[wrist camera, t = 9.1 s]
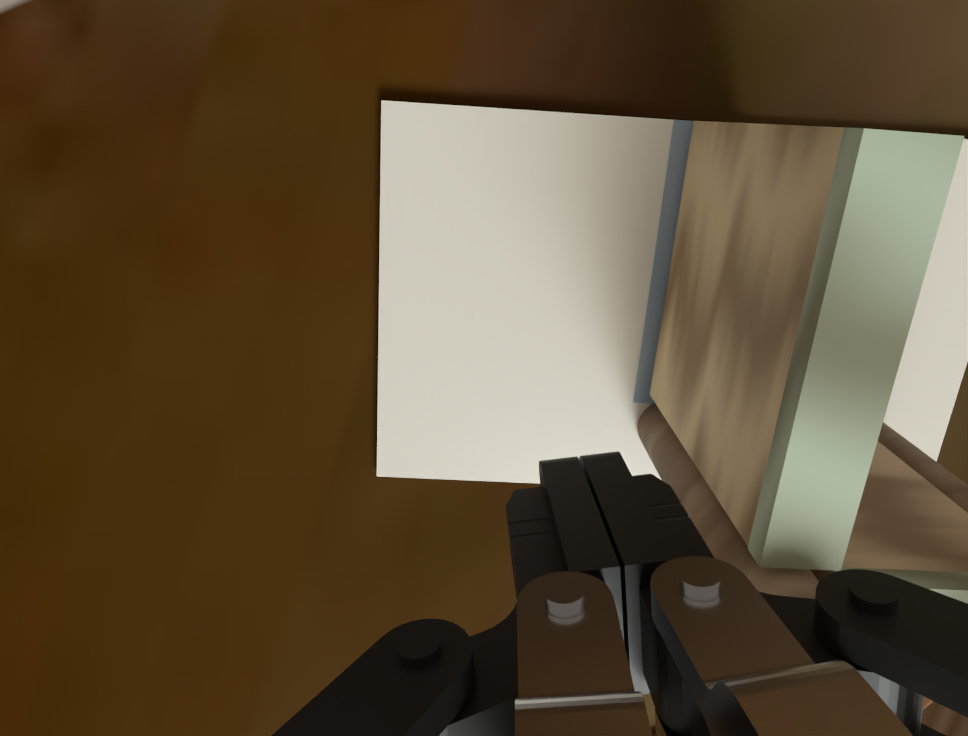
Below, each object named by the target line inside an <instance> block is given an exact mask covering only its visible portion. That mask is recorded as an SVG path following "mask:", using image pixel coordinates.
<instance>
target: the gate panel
mask: <svg viewBox="0 0 968 736" xmlns="http://www.w3.org/2000/svg"><path fill="white" fill-rule="evenodd" d="M963 140H964V136H958V135H945V134H932V133H919V132H906V131H892V130H879V129H866V128H845V127H822V126H799V125H777V124H755V123H733V122H711V121H694V122H693V128H692V134H691V140H690V147H689V153H688V159H687V165H686V171H685V178H684V184H683V190H682V196H681V202H680V209H679V215H678V221H677V227H676V233H675V240H674V246H673V252H672V258H671V264H670V271H669V277H668V283H667V289H666V295H665V302H664V308H663V314H662V320H661V326H660V333H659V339H658V345H657V351H656V357H655V364H654V370H653V376H652V382H651V389H650V396H651V397H652V399H653V400H654V402H655V404H656V405H657V407H658V408H659V410H660V411H661V413H662V414H663V416H664V417H665V419H666V421H667V422H668V424H669V425H670V427H671V428H672V430H673V431H674V433H675V434H676V436H677V438H678V439H679V441H680V442H681V444H682V445H683V447H684V448H685V450H686V451H687V453H688V455H689V456H690V458H691V459H692V461H693V462H694V464H695V465H696V467H697V469H698V470H699V472H700V473H701V475H702V476H703V478H704V479H705V481H706V482H707V484H708V486H709V487H710V489H711V490H712V492H713V493H714V495H715V496H716V498H717V499H718V501H719V503H720V504H721V506H722V507H723V509H724V510H725V512H726V513H727V515H728V516H729V518H730V520H731V521H732V523H733V524H734V526H735V527H736V529H737V530H738V532H739V534H740V535H741V537H742V538H743V540H744V541H745V543H746V544H747V546H748V550H749V552H750V553H751V555H752V556H753V558H754V560H755V561H756V563H757V564H758V566H759V567H768V568H789V569H811V570H833V571H841V568H842V564H843V561H844V557H845V553H846V550H847V546H848V543H849V539H850V536H851V532H852V529H853V525H854V522H855V518H856V515H857V511H858V508H859V504H860V501H861V497H862V494H863V490H864V487H865V483H866V480H867V476H868V473H869V469H870V466H871V462H872V459H873V455H874V452H875V448H876V445H877V441H878V438H879V434H880V431H881V427H882V424H883V420H884V417H885V413H886V410H887V406H888V403H889V399H890V396H891V392H892V389H893V385H894V382H895V378H896V375H897V371H898V368H899V364H900V361H901V357H902V354H903V350H904V347H905V343H906V340H907V336H908V333H909V329H910V326H911V322H912V319H913V315H914V312H915V308H916V305H917V301H918V298H919V294H920V291H921V287H922V284H923V280H924V277H925V273H926V270H927V266H928V263H929V259H930V256H931V252H932V249H933V245H934V241H935V238H936V234H937V231H938V227H939V224H940V220H941V217H942V213H943V210H944V206H945V203H946V199H947V196H948V192H949V189H950V185H951V182H952V178H953V175H954V171H955V168H956V164H957V161H958V157H959V154H960V150H961V147H962V143H963Z"/></svg>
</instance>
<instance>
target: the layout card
mask: <svg viewBox="0 0 968 736" xmlns="http://www.w3.org/2000/svg"><path fill="white" fill-rule="evenodd" d="M693 122H694V121H686V120H671V119H656V118H641V117H625V116H610V115H595V114H580V113H565V112H550V111H535V110H520V109H505V108H490V107H475V106H460V105H445V104H429V103H414V102H399V101H384V100H381V160H380V242H379V324H378V405H377V476H380V477H403V478H426V479H449V480H472V481H495V482H518V483H540V476H539V461H542V460H551V459H559V458H567V457H576V456H577V457H578V458H579V457H580V456H583V455H592V454H600V453H608V452H617V451H619V452H620V454H621V456H622V457H623V459H624V461H625V463H626V465H627V467H628V469H629V471H630V473H631V475H632V476H636V475H644V474H653V475H654V476H656V477H657V478H659V479H660V480H661V478H660V476H659V474H658V472H657V470H656V468H655V466H654V465H653V463H652V461H651V459H650V457H649V455H648V453H647V451H646V449H645V448H644V446H643V444H642V442H641V440H640V438H639V435H638V430H637V427H638V421H639V419H640V417H641V415H642V413H643V412H644V411H645V410H646V409H647V408H648V407H649V406H650V405H652V404H654V403H655V402H654V400H653V399H652V397H651V396H650V389H651V382H652V376H653V370H654V364H655V357H656V351H657V345H658V339H659V333H660V326H661V320H662V314H663V308H664V302H665V295H666V289H667V283H668V277H669V271H670V264H671V258H672V252H673V246H674V240H675V233H676V227H677V221H678V215H679V209H680V202H681V196H682V190H683V184H684V178H685V171H686V165H687V159H688V153H689V147H690V140H691V134H692V128H693ZM967 362H968V139H964V140H963V143H962V147H961V150H960V154H959V157H958V161H957V164H956V168H955V171H954V175H953V178H952V182H951V185H950V189H949V192H948V196H947V199H946V203H945V206H944V210H943V213H942V217H941V220H940V224H939V227H938V231H937V234H936V238H935V241H934V245H933V249H932V252H931V256H930V259H929V263H928V266H927V270H926V273H925V277H924V280H923V284H922V287H921V291H920V294H919V298H918V301H917V305H916V308H915V312H914V315H913V319H912V322H911V326H910V329H909V333H908V336H907V340H906V343H905V347H904V350H903V354H902V357H901V361H900V364H899V368H898V371H897V375H896V378H895V382H894V385H893V389H892V392H891V396H890V399H889V403H888V406H887V410H886V413H885V417H884V420H883V422H884V423H885V424H886V425H888V426H889V427H890V428H892V429H893V430H895V431H896V432H897V433H899V434H900V435H901V436H903V437H904V438H905V439H907V440H908V441H909V442H911V443H912V444H913V445H915V446H916V447H917V448H919V449H920V450H921V451H923V452H924V453H925V454H927V455H928V456H929V457H931V458H932V459H933V460H935V461H937V458H938V455H939V452H940V449H941V445H942V442H943V439H944V436H945V432H946V429H947V426H948V423H949V420H950V416H951V413H952V410H953V407H954V403H955V400H956V397H957V394H958V391H959V387H960V384H961V381H962V378H963V374H964V371H965V368H966V365H967Z"/></svg>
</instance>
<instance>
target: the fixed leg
mask: <svg viewBox="0 0 968 736" xmlns="http://www.w3.org/2000/svg"><path fill="white" fill-rule="evenodd" d="M637 430H638V435H639V438H640V440H641V442H642V444H643V446H644V448H645V449H646V451H647V453H648V455H649V457H650V459H651V461H652V463H653V465H654V466H655V468H656V470H657V472H658V474H659V476H660V478H661V480H662V481H664V482H665V483H667V484H668V485H670V486H671V487H672V489H673V490H674V492H675V494H676V495H677V497H678V499H679V500H680V503H681V505H683V507H684V509H685V510H686V512H687V513H688V517H689V518H691V520H692V522H693V523H694V525H695V527H696V528H697V530H698V532H699V533H700V535H701V536H702V538H703V540H704V541H705V543H706V545H707V546H708V548H709V550H710V551H711V553H712V555H713V556H714V558H715V559H718V560H722V561H724V562H727V563H729V564H731V565H733V566H735V567H736V568H738V569H739V570H740V571H742V572H743V573H744V574H745V575H746V576H747V578H748V579H749V580H750V582H751V583H752V584H753V585H754V587H755V588H756V589H757V590H758V591H759V592H763V593H767V594H772V595H779V596H789V597H800V598H810V599H815V594H816V587H817V584H818V583H819V581H820V580H821V579H822V578H824V577H825V576H827V575H829V574H831V573H833V572H837V571H833V570H811V569H789V568H768V567H759V566H758V564H757V563H756V561H755V560H754V558H753V556H752V555H751V553H750V552H749V550H748V546H747V544H746V543H745V541H744V540H743V538H742V537H741V535H740V534H739V532H738V530H737V529H736V527H735V526H734V524H733V523H732V521H731V520H730V518H729V516H728V515H727V513H726V512H725V510H724V509H723V507H722V506H721V504H720V503H719V501H718V499H717V498H716V496H715V495H714V493H713V492H712V490H711V489H710V487H709V486H708V484H707V482H706V481H705V479H704V478H703V476H702V475H701V473H700V472H699V470H698V469H697V467H696V465H695V464H694V462H693V461H692V459H691V458H690V456H689V455H688V453H687V451H686V450H685V448H684V447H683V445H682V444H681V442H680V441H679V439H678V438H677V436H676V434H675V433H674V431H673V430H672V428H671V427H670V425H669V424H668V422H667V421H666V419H665V417H664V416H663V414H662V413H661V411H660V410H659V408H658V407H657V405H656V404H655V403H654V404H652V405H650V406H649V407H648V408H647V409H646V410H645V411H644V412H643V413H642V415H641V417H640V419H639V421H638V427H637ZM848 569H863V570H871V571H877V572H881V573H886V574H889V575H892V576H895V577H897V578H900V579H903V580H906V581H908V582H911V583H914V584H916V585H919V586H922V587H924V588H927V589H930V590H932V591H935V592H938V593H940V594H943V595H946V596H948V597H951V598H954V599H957V600H959V601H962V602H965V603H967V604H968V485H967V484H965V483H964V482H963V481H961V480H960V479H959V478H957V477H956V476H955V475H953V474H952V473H951V472H949V471H948V470H947V469H945V468H944V467H943V466H941V465H940V464H939V463H937V462H936V461H935V460H933V459H932V458H931V457H929V456H928V455H927V454H925V453H924V452H923V451H921V450H920V449H919V448H917V447H916V446H915V445H913V444H912V443H911V442H909V441H908V440H907V439H905V438H904V437H903V436H901V435H900V434H899V433H897V432H896V431H895V430H893V429H892V428H890V427H889V426H888V425H886V424H885V423H884V422H883V424H882V427H881V431H880V434H879V438H878V441H877V445H876V448H875V452H874V455H873V459H872V462H871V466H870V469H869V473H868V476H867V480H866V483H865V487H864V490H863V494H862V497H861V501H860V504H859V508H858V511H857V515H856V518H855V522H854V525H853V529H852V532H851V536H850V539H849V543H848V546H847V550H846V553H845V557H844V561H843V564H842V568H841V570H848Z"/></svg>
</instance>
